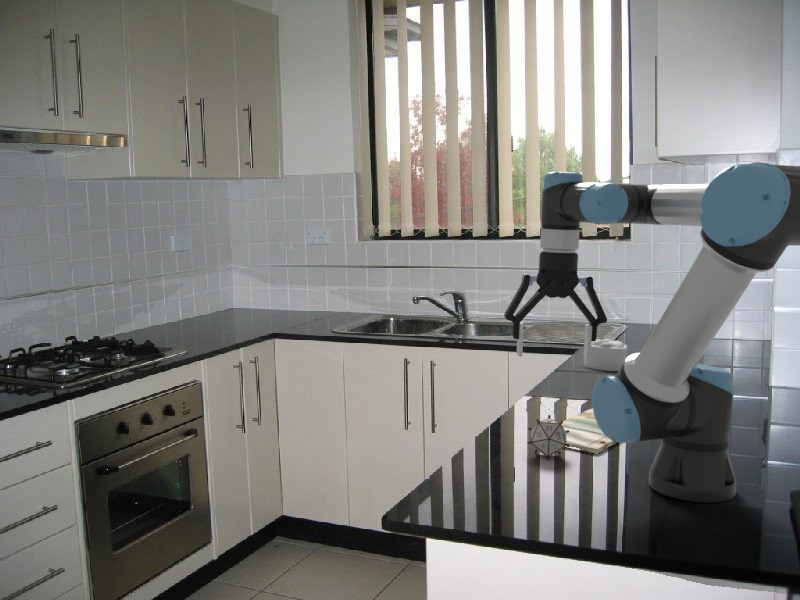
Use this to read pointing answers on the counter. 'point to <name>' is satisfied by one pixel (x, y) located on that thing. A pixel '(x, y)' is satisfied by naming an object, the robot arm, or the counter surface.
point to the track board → (586, 433)
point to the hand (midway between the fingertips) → (553, 356)
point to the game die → (548, 437)
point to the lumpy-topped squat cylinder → (606, 355)
